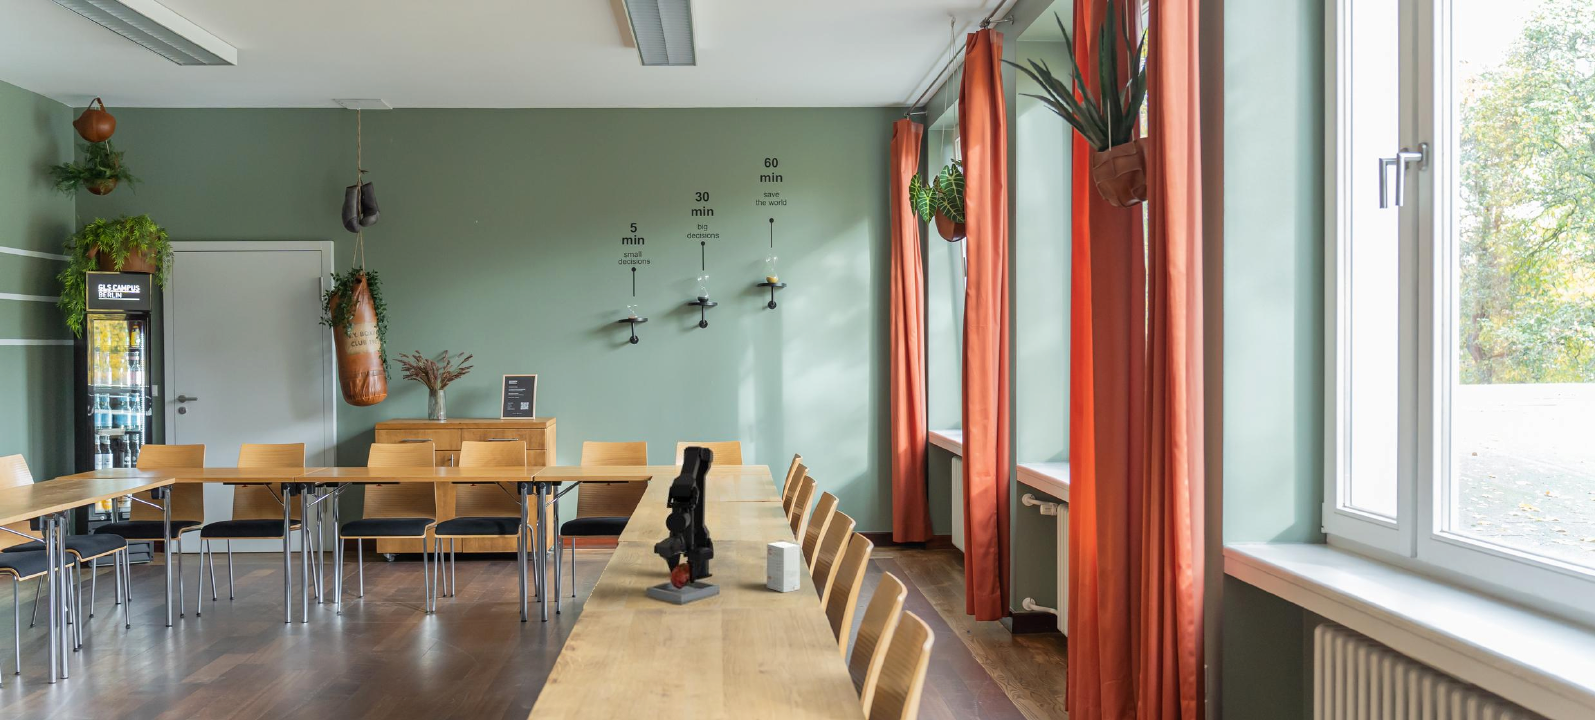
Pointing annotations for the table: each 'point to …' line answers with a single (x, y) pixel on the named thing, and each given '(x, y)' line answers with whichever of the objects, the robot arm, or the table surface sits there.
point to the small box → (783, 566)
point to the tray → (683, 592)
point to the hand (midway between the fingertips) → (683, 581)
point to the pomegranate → (680, 576)
